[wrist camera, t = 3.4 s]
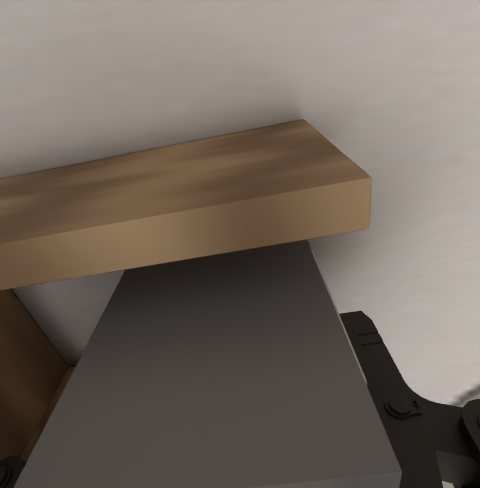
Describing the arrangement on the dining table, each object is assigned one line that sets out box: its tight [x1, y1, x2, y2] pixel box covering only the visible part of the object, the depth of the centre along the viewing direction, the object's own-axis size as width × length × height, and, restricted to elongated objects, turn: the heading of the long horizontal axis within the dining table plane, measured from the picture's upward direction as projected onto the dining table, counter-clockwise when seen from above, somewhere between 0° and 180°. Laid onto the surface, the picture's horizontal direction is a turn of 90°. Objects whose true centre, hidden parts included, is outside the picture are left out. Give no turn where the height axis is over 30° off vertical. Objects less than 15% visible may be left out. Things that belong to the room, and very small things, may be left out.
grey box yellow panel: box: [14, 239, 402, 488], centre depth 11 cm, size 6×8×11 cm
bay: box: [0, 119, 371, 462], centre depth 13 cm, size 17×13×7 cm
